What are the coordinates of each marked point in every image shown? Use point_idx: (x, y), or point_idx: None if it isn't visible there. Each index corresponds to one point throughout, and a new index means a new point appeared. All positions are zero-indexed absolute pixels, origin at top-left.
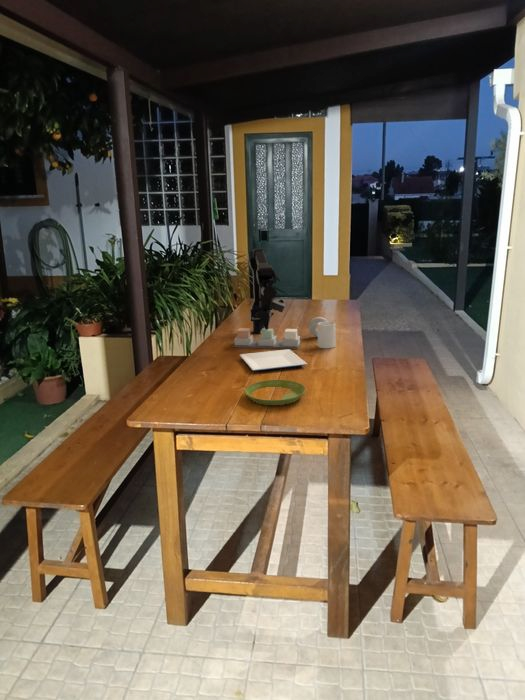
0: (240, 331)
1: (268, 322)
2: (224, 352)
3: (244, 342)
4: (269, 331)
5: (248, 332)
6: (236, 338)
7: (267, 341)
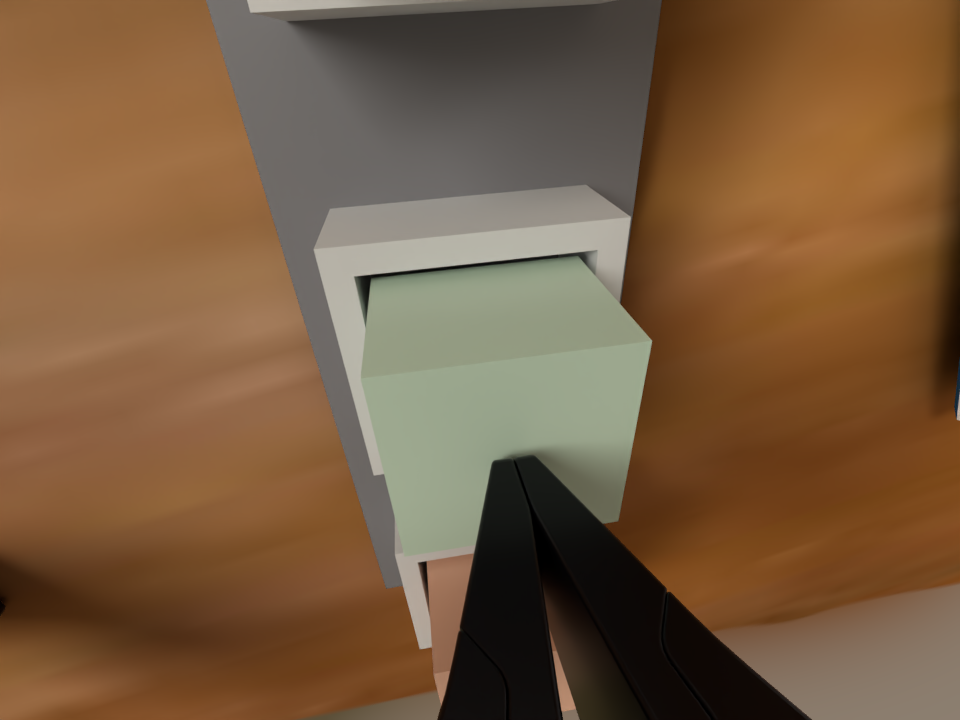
0: None
1: (690, 612)
2: (713, 541)
3: None
4: (639, 378)
5: None
6: None
7: None
